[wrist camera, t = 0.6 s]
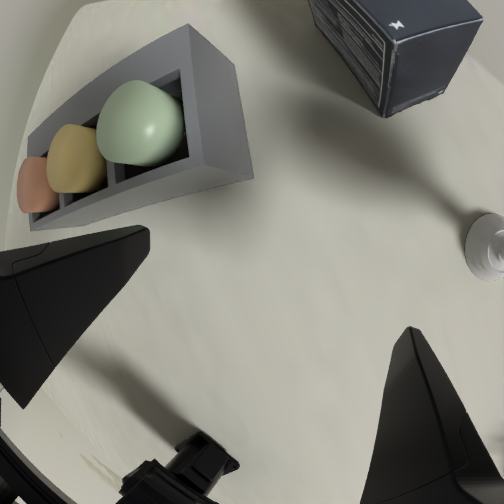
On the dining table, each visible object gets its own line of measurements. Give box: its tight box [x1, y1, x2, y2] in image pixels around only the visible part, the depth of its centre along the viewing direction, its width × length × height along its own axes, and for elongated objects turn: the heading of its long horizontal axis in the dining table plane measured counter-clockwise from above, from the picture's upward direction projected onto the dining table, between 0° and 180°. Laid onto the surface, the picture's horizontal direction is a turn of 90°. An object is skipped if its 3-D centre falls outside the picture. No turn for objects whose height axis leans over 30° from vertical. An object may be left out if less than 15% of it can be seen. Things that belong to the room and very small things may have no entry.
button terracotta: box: [17, 156, 60, 213], centre depth 21 cm, size 5×5×3 cm
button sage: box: [96, 80, 186, 167], centre depth 16 cm, size 5×5×3 cm
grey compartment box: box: [27, 24, 254, 231], centre depth 23 cm, size 11×22×8 cm, turn 100°
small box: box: [308, 0, 484, 118], centre depth 12 cm, size 11×6×10 cm, turn 26°
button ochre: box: [46, 124, 107, 193], centre depth 19 cm, size 5×5×3 cm
